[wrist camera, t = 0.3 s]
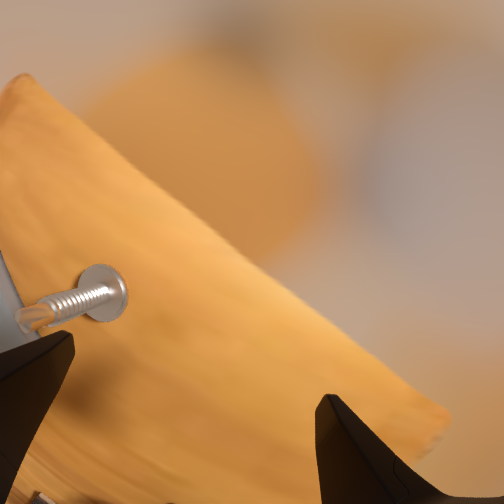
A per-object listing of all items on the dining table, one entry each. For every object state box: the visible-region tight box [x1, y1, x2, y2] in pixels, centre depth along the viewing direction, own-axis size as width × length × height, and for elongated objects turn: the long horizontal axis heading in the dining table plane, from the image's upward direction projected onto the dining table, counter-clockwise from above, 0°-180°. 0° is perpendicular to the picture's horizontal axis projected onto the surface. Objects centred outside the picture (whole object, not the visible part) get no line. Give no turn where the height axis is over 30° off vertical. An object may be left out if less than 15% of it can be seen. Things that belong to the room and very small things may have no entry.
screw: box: [15, 264, 129, 333], centre depth 16 cm, size 13×5×5 cm
